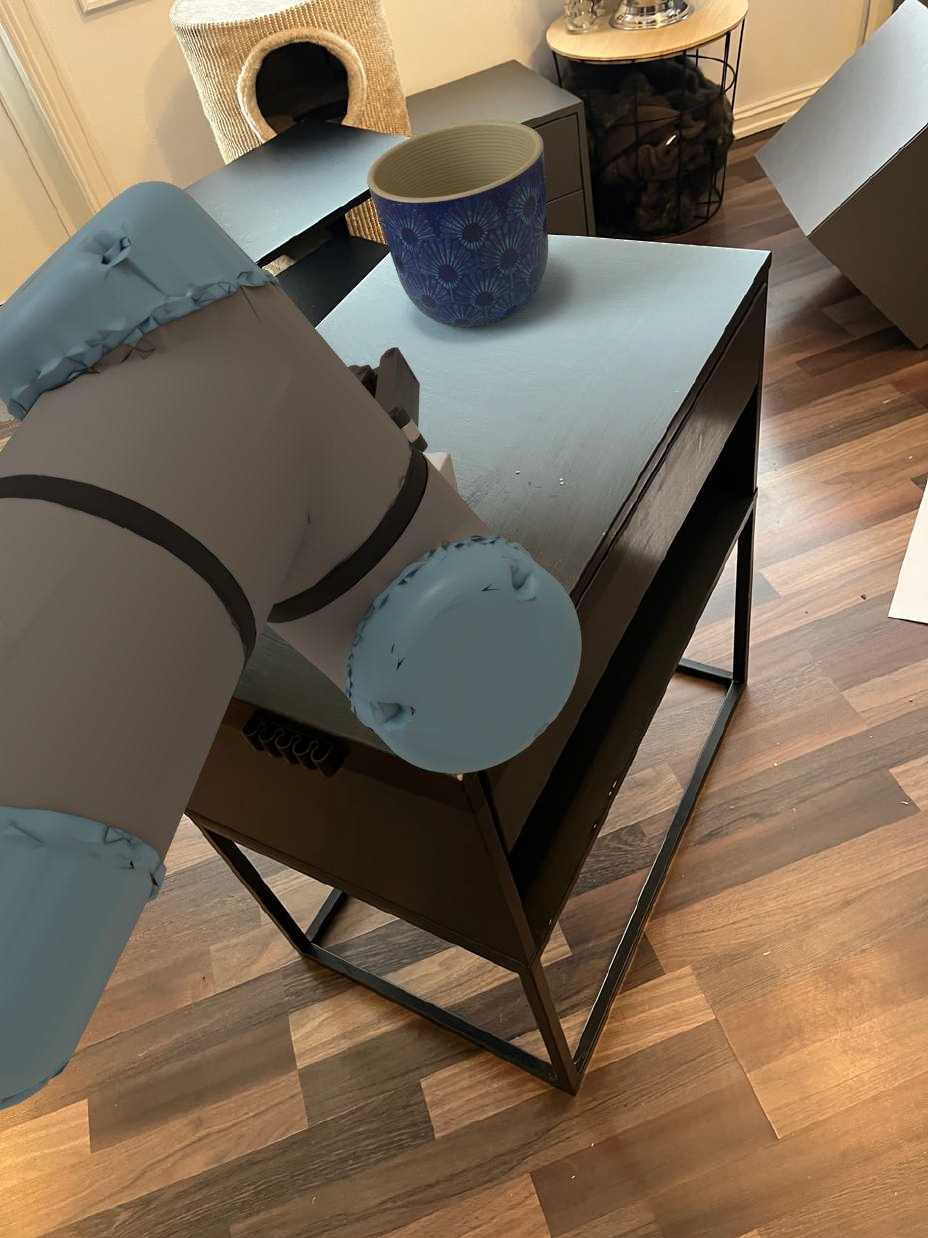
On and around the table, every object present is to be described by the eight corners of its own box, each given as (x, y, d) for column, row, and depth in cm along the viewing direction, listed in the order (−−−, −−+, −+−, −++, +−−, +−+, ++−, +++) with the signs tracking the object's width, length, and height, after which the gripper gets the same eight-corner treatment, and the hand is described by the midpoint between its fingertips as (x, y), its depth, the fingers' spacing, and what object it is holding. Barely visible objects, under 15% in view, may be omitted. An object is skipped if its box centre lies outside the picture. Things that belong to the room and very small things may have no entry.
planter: (442, 369, 92) (407, 219, 80) (379, 302, 103) (341, 162, 92) (591, 305, 94) (577, 151, 83) (514, 247, 106) (492, 104, 94)
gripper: (164, 773, 41) (117, 608, 59) (589, 437, 44) (422, 377, 62) (43, 659, 37) (31, 519, 55) (519, 298, 40) (361, 276, 58)
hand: (238, 444), depth 59 cm, fingers open, 13 cm apart
